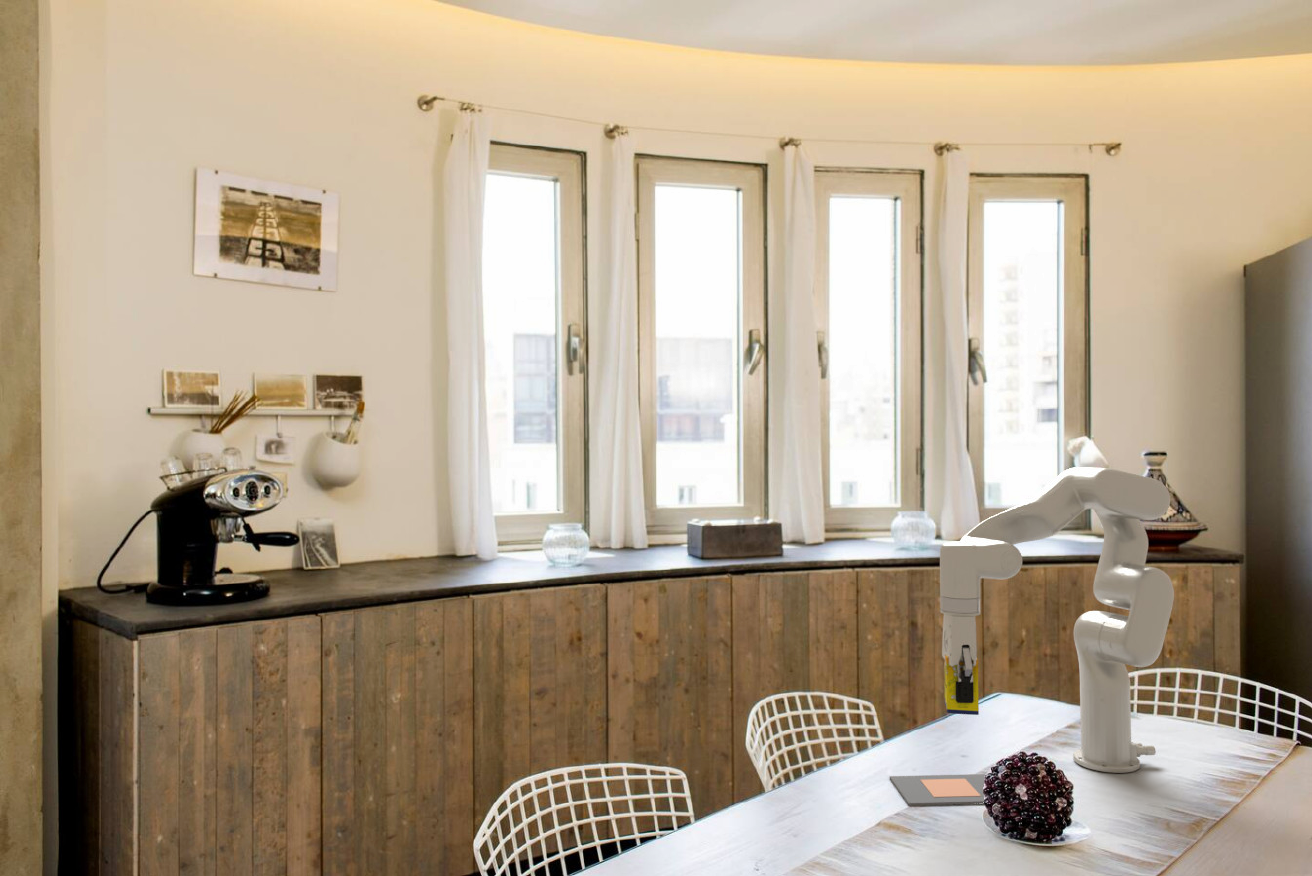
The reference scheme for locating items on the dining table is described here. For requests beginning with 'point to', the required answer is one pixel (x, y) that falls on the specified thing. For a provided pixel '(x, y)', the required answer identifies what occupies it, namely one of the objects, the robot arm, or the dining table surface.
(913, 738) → the dining table surface
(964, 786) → the mat
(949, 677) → the supplement box
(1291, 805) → the dining table surface
